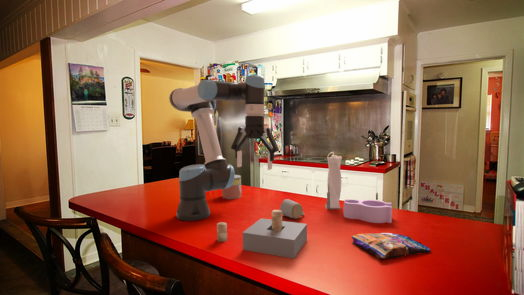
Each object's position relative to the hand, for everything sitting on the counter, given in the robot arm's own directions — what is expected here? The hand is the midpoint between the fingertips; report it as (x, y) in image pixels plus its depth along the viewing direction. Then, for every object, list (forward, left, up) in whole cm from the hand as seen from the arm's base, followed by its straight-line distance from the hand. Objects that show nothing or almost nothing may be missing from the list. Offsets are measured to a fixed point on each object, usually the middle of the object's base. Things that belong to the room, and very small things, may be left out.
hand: (254, 168), depth 120 cm
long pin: (+15, -14, -25) cm, 32 cm away
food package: (+52, -1, -26) cm, 58 cm away
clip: (+42, +29, -25) cm, 57 cm away
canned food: (-34, +42, -25) cm, 59 cm away
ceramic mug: (+11, +19, -25) cm, 33 cm away
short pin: (-6, -17, -25) cm, 30 cm away
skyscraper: (+25, +41, -25) cm, 54 cm away
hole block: (+14, -14, -25) cm, 32 cm away
